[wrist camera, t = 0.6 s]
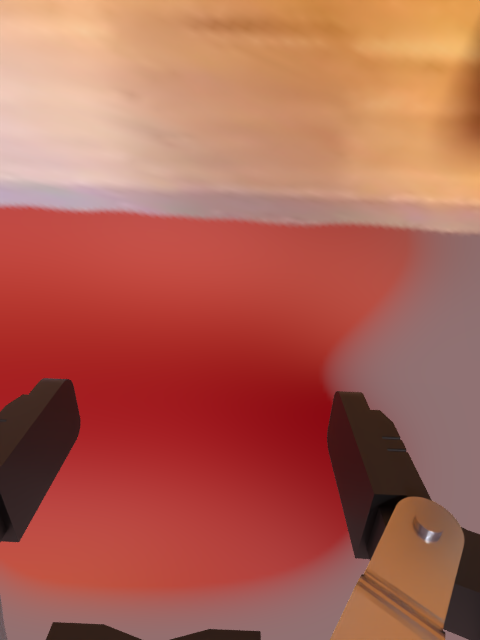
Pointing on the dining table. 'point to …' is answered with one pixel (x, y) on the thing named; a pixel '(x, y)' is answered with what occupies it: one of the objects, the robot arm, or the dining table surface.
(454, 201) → the dining table surface
